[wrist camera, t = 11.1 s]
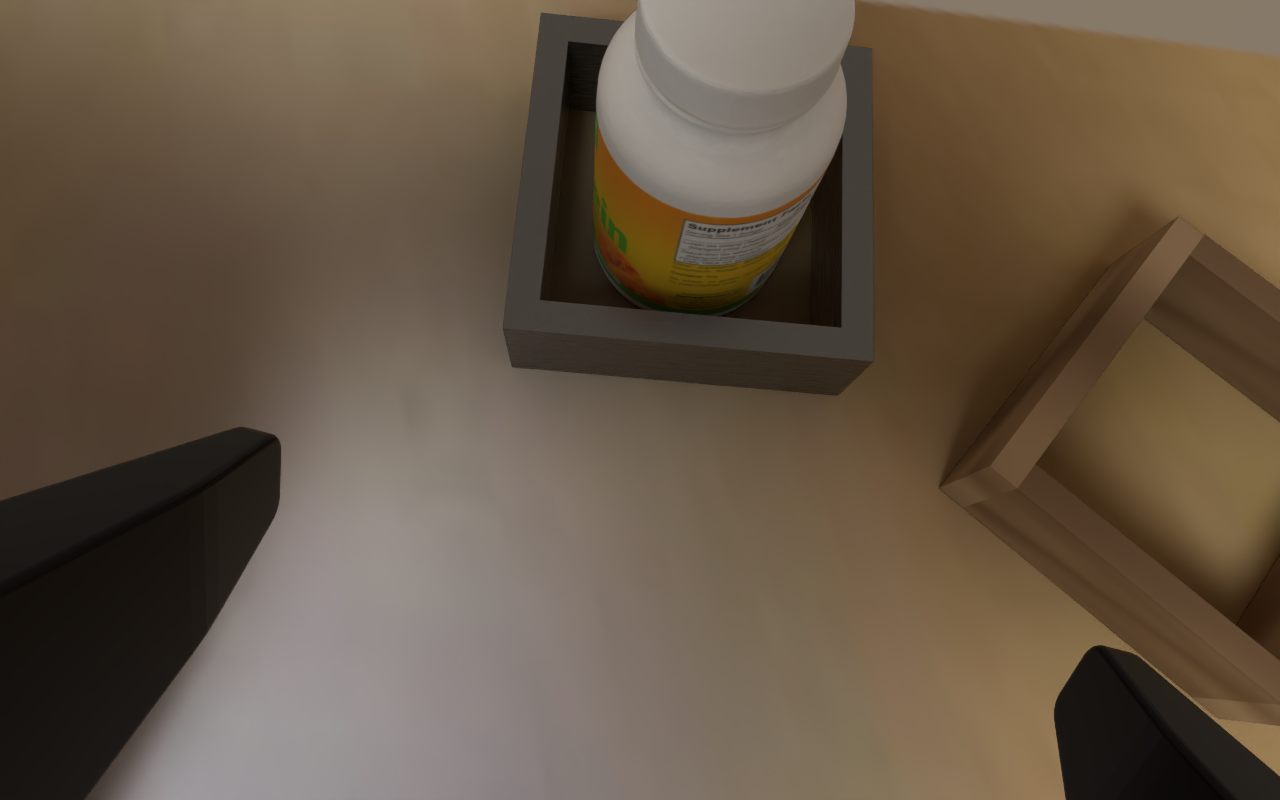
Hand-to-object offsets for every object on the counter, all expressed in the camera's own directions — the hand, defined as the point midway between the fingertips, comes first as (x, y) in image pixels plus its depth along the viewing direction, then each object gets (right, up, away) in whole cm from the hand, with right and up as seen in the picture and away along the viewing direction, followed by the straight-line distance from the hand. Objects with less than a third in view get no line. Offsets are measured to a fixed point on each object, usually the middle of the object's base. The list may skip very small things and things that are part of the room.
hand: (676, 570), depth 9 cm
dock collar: (+1, +7, +16) cm, 17 cm away
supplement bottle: (+1, +6, +16) cm, 17 cm away
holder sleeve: (+14, 0, +15) cm, 20 cm away
